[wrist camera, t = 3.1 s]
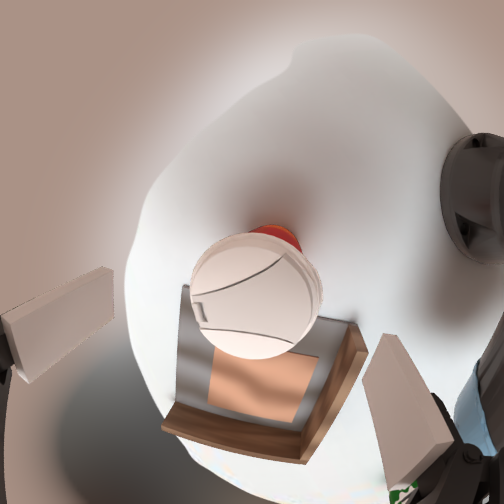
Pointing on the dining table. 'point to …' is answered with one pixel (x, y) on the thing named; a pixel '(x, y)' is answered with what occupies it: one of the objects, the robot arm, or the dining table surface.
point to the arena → (263, 390)
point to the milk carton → (401, 494)
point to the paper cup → (255, 293)
